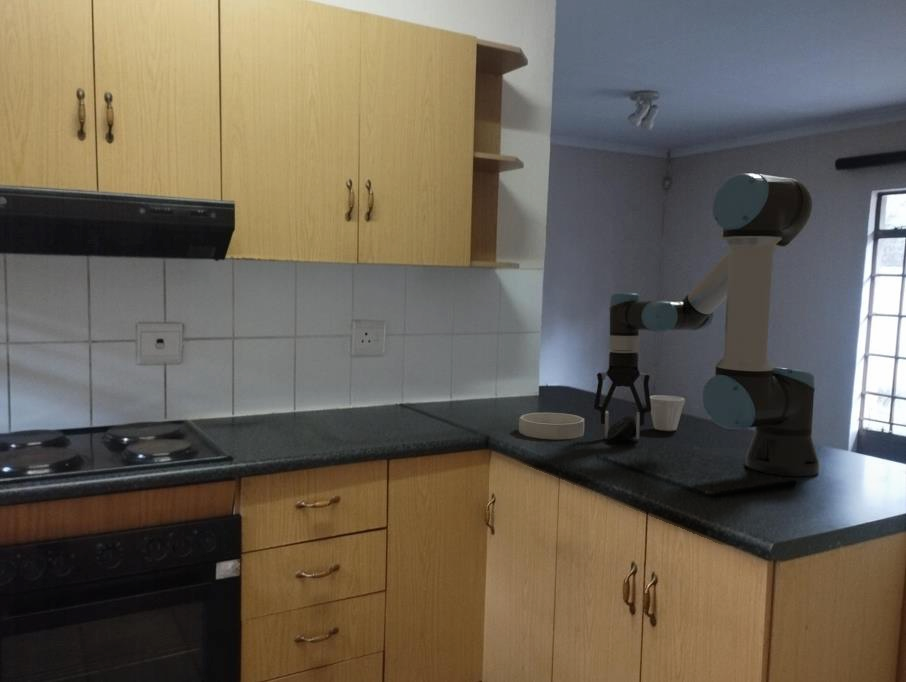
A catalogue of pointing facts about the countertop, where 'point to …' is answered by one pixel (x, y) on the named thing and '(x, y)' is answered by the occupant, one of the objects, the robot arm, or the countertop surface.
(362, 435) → the countertop surface
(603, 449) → the countertop surface
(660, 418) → the cup
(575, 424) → the bowl
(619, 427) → the rock
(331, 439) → the countertop surface
